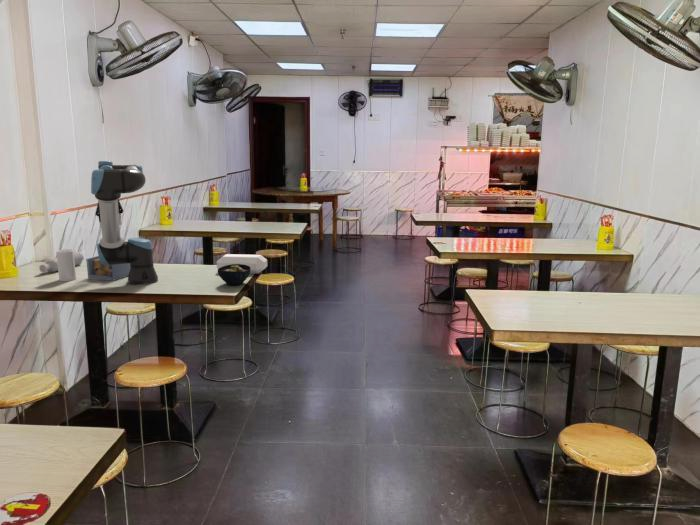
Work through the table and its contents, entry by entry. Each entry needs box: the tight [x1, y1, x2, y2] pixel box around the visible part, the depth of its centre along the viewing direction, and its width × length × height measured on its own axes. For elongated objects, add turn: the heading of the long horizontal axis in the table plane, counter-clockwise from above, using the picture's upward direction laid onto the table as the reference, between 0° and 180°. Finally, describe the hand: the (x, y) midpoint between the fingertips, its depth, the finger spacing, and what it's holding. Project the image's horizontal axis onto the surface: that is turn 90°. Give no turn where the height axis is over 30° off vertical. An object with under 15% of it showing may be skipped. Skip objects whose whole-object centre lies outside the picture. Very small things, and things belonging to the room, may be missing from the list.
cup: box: [55, 248, 77, 282], centre depth 294 cm, size 8×8×16 cm
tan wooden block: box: [93, 259, 111, 276], centre depth 299 cm, size 12×5×10 cm, turn 75°
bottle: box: [38, 249, 85, 273], centre depth 320 cm, size 9×9×30 cm
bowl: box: [217, 264, 251, 287], centre depth 286 cm, size 17×17×10 cm
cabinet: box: [85, 255, 130, 281], centre depth 302 cm, size 17×20×11 cm
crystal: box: [216, 253, 268, 275], centre depth 315 cm, size 14×10×28 cm
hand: (111, 226), depth 308 cm, fingers open, 13 cm apart
